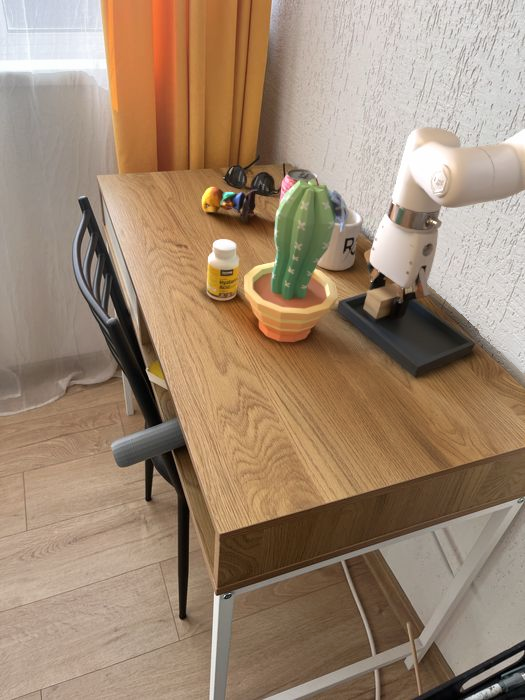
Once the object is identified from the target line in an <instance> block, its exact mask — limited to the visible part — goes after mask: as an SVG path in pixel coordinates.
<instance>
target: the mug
mask: <svg viewBox="0 0 525 700" xmlns="http://www.w3.org/2000/svg"><path fill="white" fill-rule="evenodd" d="M347 210H348V218H347V222H346V224H345V227H344V230H343V232H340V229H341V221H339V219H336V220H335V225H334V228H333V232H332V236H331V239H330V243H329V247H328V249H327V250H326V252H325V253H324V254H323V256H322V257H321V258H320V260H319V261H318V263H317V265H316V266H318V267H320V268H321V269H325V270H328V271H337V272H338V271H344V270H347V269H349V268H351V267H352V266H353V265H354V263H355V259H356V249H357V243H358V238H359V235H360V231H361V228H362V226H363V223H364V217H363V216H362V214H361V213H360V212H358V211H357V210H354V209H352V208H350V207H347Z"/></svg>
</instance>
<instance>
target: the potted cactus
mask: <svg viewBox="0 0 525 700" xmlns="http://www.w3.org/2000/svg"><path fill="white" fill-rule="evenodd" d="M279 204H280V206H279V205H278V208H277V210H276V211H275V218H274V219H275V220H274V233H273V239H274V245H275V250H276V254H275V258H274V261H271V262H268V263H264V264H258V265H255V266H254V267H253V268H252V269H250V270H249V271H248V272H247V273H246V274H245V275H244V276H243V288H244V290H243V292H244V296H245V299H246V300H247V301H248V302H249V303H250V306H251V310H252V313H253V314H254V316H255V317H256V318H257V320H258V328H259V330H260V331H261V332H262V333H263V334H264V335H265V336H266V337H267V338H269V339H272V340H275V341H277V342H285V343H296V342H298V341H302V340H305V339H306V338H307V337H308V335H310V333H311V332H312V331H311V329H312V328H313V327H315V326H316V325H317V323H318V322H319V321H320V320H321V319H322V317H323V316H325V315H326V314H327V313H328V312H329V311H330V310H331V308H332V307H333V306H334V305H335V304H336V302H337V299H338V298H339V293H338V289H337V285H336V282H335V281H334V280H333V279H332V278H330V277H329V276H327V274H325V273H324V272H323V271H322V270H321V269H320V270H319V269H317V268H316V267H317V266H318V265H317V263H318V261H319V260H320V258H321V257H322V256H323V254H324V253H325V252H326V250H327V249H328V247H329V243H330V239H331V236H332V232H333V228H334V225H335V220H336V219H339V221H341V229H340V232H343V230H344V227H345V224H346V222H347V218H348V210H347V208H348V207H347V206H348V205H347V204H346V202H345V199H343V197H342V195H341V194H340V193H339V192H338V191H337V190H331V189H329V188H328V187H327V184H326V183H320V184H319V186H317V182H316V180H315V179H311V180H310V181H309V182H308V183H307V182H306V181H304V180H303V179H300V180H299V181H298V182H297V183H296V184H295V185H294V186H293V187H291V188H290V189H289V190H288V191H287V192H286V194H285V195H284V197H283V199H282V200H281V202H280V201H279Z"/></svg>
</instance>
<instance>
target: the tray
mask: <svg viewBox="0 0 525 700" xmlns="http://www.w3.org/2000/svg"><path fill="white" fill-rule="evenodd" d="M366 296H367V292H363V293H361V294H357V295H354V296H350V297H347V298H343V299H340V300H338V303H337V308H336V311H337V312H338V313H339V315H341V316H343V318H344V319H346V320H347V321H348V322H350V323H351V324H352V325H353V326H354V327H355V328H356V329H358V330H359V331H360V332H361V333H362V334H364V335H365V336H366V337H367V338H368V339H369V340H370V341H372V342H373V343H374V344H375V345H377V346H378V348H380V349H381V350H382V351H383V352H385V353H386V354H387V355H388V356H389V357H391V359H393V360H394V361H395V362H396V363H398V364H399V365H400V366H401V367H402V368H403V369H404V370H405V371H407V372H408V373H409V374H410V375H411V376H412V377H414V378H415V377H417V376H420V375H423V374H425V373H427V372H430V371H432V370H434V369H437V368H439V367H442V366H444V365H447V364H448V363H451V362H453V361H456V360H458V359H460V358H463V357H465V356H467V355H468V356H469V354H472V353H473V350H474V348H475V347H476V341H474V340H472V339H471V338H470V337H469V336H467V335H466V334H465V333H463V332H461V331H460V330H459V329H457V328H456V327H454V326H453V325H451V324H450V323H449V322H447V321H446V320H445V319H443V317H441V316H439V314H436V313H435V312H434V311H432V309H430V308H428V307H427V306H426V305H424V304H423V303H422V302H421V301H419V300H418V299H413V300H410V301H409V303H408V306H407V309H406V312H405V315H404V316H403V317H401V318H398V319H395V320H392V321H391V320H390V319H389V318H388V319H385V320H382V321H379V322H376V323H375V322H374V321H372V320H371V319H370V318H369V317H368V316H366V315H365V314H364V313H363V312H362V311H363V307H364V304H365V300H366Z"/></svg>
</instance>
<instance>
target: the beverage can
mask: <svg viewBox="0 0 525 700" xmlns="http://www.w3.org/2000/svg"><path fill="white" fill-rule="evenodd" d="M318 176H319V175H318V174H317V173H316V172H314V171H312V170H309V169H304V168H292V169H288V170H287V171H286V175H285V176H284V178H283V179H282V181H281V187H280V188H281V189H280V197H279V204H278V207H279V206H280V202H281V200H282V199H283V197H284V195H285V194H286V192H287V191H288V190H289V189H290V188H291V187H293V186H294V185H295V184H296V183H297V182H298V181H299V180H300V179H303V180H304V181H306V182H307V183H308V182H309V181H310V180H311V179H315V180H316V182H317V186H320V184H319V181H318Z"/></svg>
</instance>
